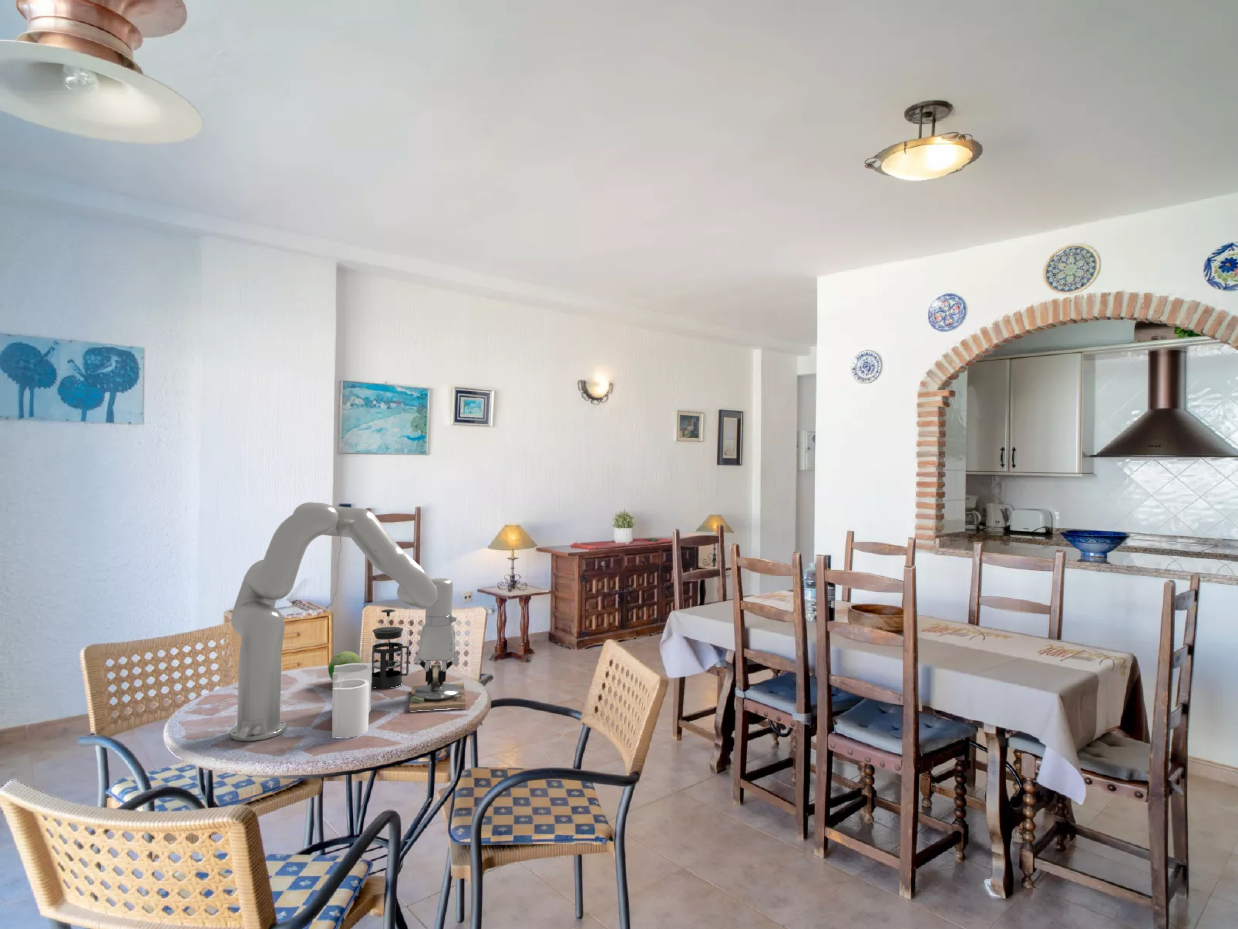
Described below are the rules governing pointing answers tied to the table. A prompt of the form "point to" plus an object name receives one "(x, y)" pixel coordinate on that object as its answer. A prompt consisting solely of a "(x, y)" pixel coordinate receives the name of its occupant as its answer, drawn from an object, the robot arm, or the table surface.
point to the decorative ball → (343, 660)
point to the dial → (437, 687)
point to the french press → (388, 657)
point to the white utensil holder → (351, 699)
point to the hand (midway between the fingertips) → (435, 683)
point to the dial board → (437, 701)
